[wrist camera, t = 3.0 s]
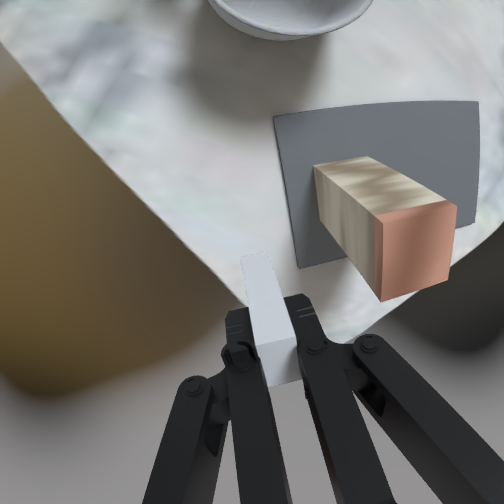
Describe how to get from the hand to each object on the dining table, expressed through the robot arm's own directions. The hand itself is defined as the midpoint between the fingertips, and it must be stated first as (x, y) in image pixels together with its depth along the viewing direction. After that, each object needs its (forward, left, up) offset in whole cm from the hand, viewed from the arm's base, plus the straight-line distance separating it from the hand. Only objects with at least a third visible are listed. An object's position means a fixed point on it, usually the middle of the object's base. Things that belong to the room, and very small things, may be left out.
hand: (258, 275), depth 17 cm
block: (-9, 0, -10) cm, 13 cm away
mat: (-15, 0, -10) cm, 18 cm away
